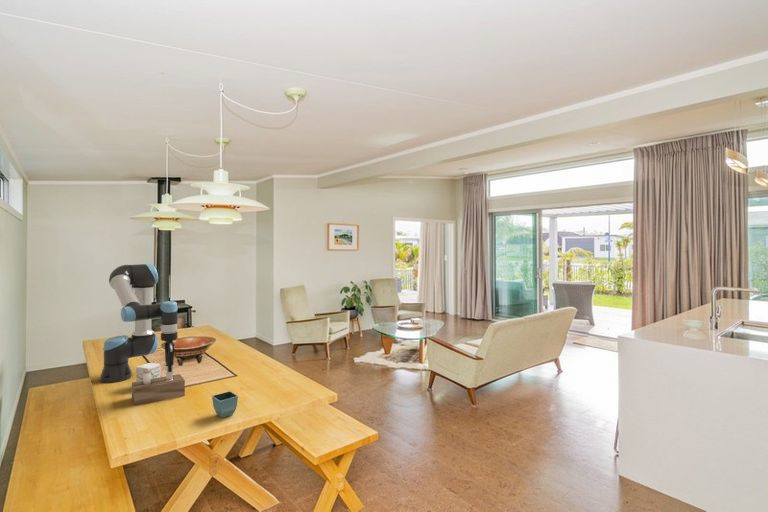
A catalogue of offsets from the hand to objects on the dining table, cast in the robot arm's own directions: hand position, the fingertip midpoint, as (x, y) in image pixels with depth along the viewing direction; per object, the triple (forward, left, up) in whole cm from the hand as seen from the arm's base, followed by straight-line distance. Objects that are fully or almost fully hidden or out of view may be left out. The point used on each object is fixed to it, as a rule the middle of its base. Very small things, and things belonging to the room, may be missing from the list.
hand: (169, 377), depth 209 cm
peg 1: (0, -10, -3) cm, 10 cm away
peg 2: (0, 0, -8) cm, 8 cm away
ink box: (-19, -7, -9) cm, 22 cm away
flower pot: (+41, +16, -9) cm, 45 cm away
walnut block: (0, -5, -9) cm, 10 cm away
